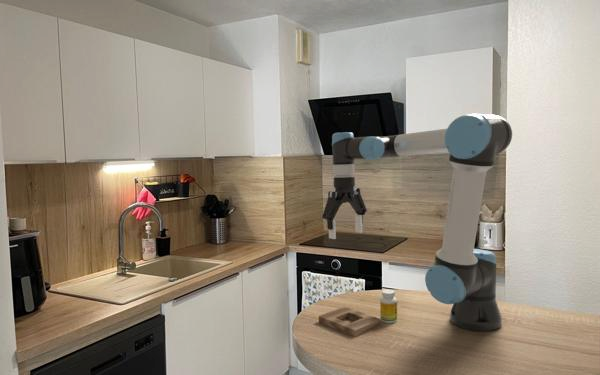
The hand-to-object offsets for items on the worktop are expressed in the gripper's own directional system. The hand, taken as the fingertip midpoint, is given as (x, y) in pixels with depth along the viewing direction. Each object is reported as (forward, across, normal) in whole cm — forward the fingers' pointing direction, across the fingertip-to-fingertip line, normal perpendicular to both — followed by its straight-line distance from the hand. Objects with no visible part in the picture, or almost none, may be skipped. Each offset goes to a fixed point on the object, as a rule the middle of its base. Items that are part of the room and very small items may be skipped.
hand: (346, 235), depth 166 cm
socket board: (+24, +14, +14) cm, 32 cm away
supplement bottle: (+25, +3, +21) cm, 33 cm away
